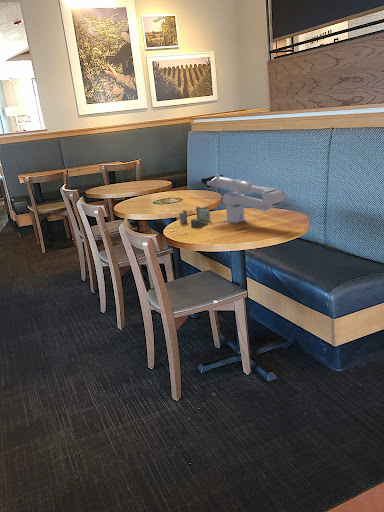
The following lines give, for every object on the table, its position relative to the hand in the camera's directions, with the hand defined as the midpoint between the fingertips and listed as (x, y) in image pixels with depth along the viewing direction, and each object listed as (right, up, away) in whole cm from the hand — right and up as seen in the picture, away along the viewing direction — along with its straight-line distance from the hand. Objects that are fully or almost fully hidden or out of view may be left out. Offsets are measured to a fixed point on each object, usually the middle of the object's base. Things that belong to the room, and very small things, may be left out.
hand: (206, 179), depth 254 cm
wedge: (-4, -27, -13) cm, 31 cm away
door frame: (-7, -23, 0) cm, 24 cm away
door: (-2, -23, -2) cm, 23 cm away
